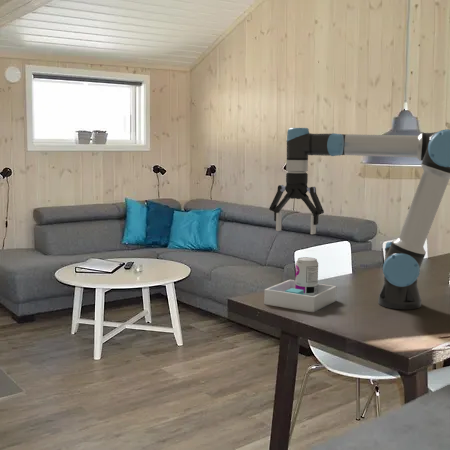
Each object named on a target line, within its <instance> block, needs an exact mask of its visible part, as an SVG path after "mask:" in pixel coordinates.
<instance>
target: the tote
mask: <svg viewBox="0 0 450 450" xmlns="http://www.w3.org/2000/svg"><path fill="white" fill-rule="evenodd" d="M295 281H296V279H295V280H294V279H288V280H285V281H283V282H282V281H281V282H280V283H277V284H275V285H272V286H269V287H268V288H264V299H263V301H264V303H263V304H264V305H267V306H274V307H277V308H278V307H280V308H284V309H291V310H296V311H302V312H309V313H316V312H317V311H320V310H322V309H324V308H325V307H327V306H329V305H332V303H335V302H337V287H338V286H337V285H330V284H323V283H318V292H317V295H315V296H308V295H301V294H295V293H288V292H285V291H286V290H288V289H290V288H294V289H295Z"/></svg>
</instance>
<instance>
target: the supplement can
mask: <svg viewBox="0 0 450 450" xmlns="http://www.w3.org/2000/svg"><path fill="white" fill-rule="evenodd" d="M295 280H296V281H295V289H301V290H304V295H308V296H315V295H317V292H318V284H319V262H318V260H317V258H314V257H306V256H305V257H298V258H297V261H296V262H295Z"/></svg>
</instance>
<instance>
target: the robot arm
mask: <svg viewBox="0 0 450 450" xmlns="http://www.w3.org/2000/svg"><path fill="white" fill-rule="evenodd" d="M286 136H287V137H286V161H285V162H286V166H285V169H286V170H285V171H286V174H285V183H286V184H285V185H283V184H281V185H279V184H278V186H277V191H276V193H275V196H274V198H273V200H272V202H271V204H270V206H269V210H270V211H272V212H273V221H274V222H275V231H276V232H279V231H280V232H281V231H282V215H283V214H282V212H281V210H282V209H283V207H285V205H286V204H287V203H288V202H289V201H290V200H291V199H296V200H301V201H302V202H303V203H304V204H305V206H306V207H307V208H308V210H309V211H310V212H311V214H312V215H310V235H316V234H317V225H319V217H320V215H322V214H324V213H325V211H324V208H323V206H322V204H321V201H320V199H319V197H318V194H317V187H316V186H310V187H308V181H309V180H308V179H309V178H308V176H309V174H308V173H307V172H308V171H309V156H320V157H321V156H324V157H325V156H326V157H329V156H330V157H336V156H339V157H340V156H359V157H360V156H362V157H365V156H366V157H389V158H390V157H392V158H393V157H394V158H396V157H397V158H416V159H417V160H419V161H421V163H420V165H421V169H422V170H423V171H422V175H421V177H420V180H419V183H418V185H417V188H416V190H415V193H414V196H413V198H412V201H411V203H410V205H409V209H408V211H407V214H406V217H405V219H404V223H403V225H402V227H401V230H400V233H399V236H398V237H397V238H395V239H393V240H392V241H387V242H386V243H385V248H384V253H385V254H384V262H383V265H382V273H383V276H384V277H383V284H382V286H381V289H380V292H379V294H378V297H377V298H378V299H377V300H378V302H377V303H378V305H380V306H382V307H385V308H388V309H394V310H416V309H419V308H421V307H422V297H421V294H420V291H419V290H420V289H419V287H418V278H419V276H420V272H421V270H420V269H421V267H422V264H423V262H424V258H425V256H426V254H427V251H426V250H425V248H424V246H425V243H426V242H427V241H426V240H427V238H428V235H429V233H430V230H431V229H432V226H433V222H434V220H435V217H436V216H437V213H438V209H439V207H440V205H441V202H442V199H443V197H444V194H445V192H446V189H447V186H448V184H449V181H450V128H449V129H448V128H445V129H442V130H439V131H435V132H421V133H419V135H402V134H399V135H397V134H396V135H395V134H393V135H392V134H353V133H352V134H351V133H349V134H347V133H346V134H343V133H334V132H332V133H310V129H309V128H307V127H289V128H288V129H287V134H286ZM284 192H286V194H285V195H284V196H283V194H284ZM307 193H309V194H310V196H309V195H308V194H307ZM282 196H283V198H282ZM309 197H311V198H309ZM281 198H282V200H281ZM311 200H312V201H311Z"/></svg>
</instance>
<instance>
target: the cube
mask: <svg viewBox="0 0 450 450" xmlns="http://www.w3.org/2000/svg"><path fill="white" fill-rule="evenodd" d="M285 292H288V293H295V294H301V295H304V290H301V289H294V288H290V289H288V290H286V291H285Z"/></svg>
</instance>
